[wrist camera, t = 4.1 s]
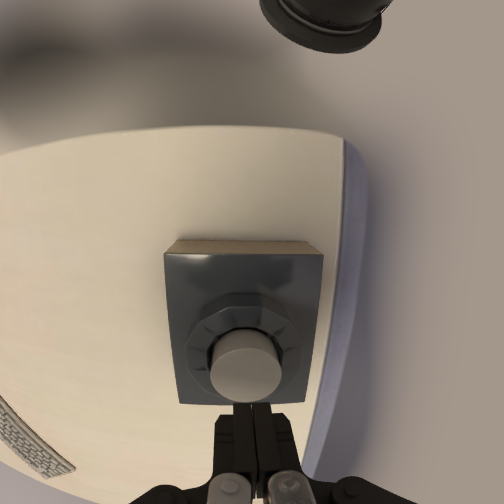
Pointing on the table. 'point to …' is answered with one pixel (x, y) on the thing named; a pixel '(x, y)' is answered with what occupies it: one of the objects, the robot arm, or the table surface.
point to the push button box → (241, 309)
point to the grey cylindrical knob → (245, 366)
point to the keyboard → (30, 445)
